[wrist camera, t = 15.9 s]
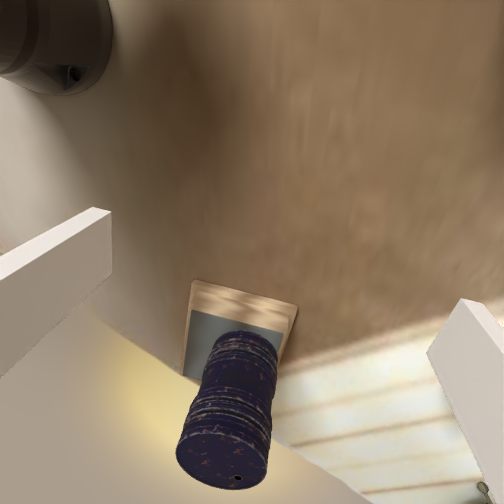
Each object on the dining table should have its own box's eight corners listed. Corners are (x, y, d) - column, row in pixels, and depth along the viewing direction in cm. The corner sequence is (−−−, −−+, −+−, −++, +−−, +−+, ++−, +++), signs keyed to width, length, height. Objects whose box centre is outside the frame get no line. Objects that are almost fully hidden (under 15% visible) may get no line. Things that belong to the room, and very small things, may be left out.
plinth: (183, 354, 55) (172, 379, 50) (193, 279, 48) (181, 299, 43) (273, 378, 54) (270, 405, 50) (297, 305, 47) (296, 329, 42)
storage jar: (197, 346, 46) (155, 448, 33) (249, 318, 42) (224, 420, 29) (240, 388, 49) (217, 498, 36) (292, 365, 45) (287, 478, 32)
